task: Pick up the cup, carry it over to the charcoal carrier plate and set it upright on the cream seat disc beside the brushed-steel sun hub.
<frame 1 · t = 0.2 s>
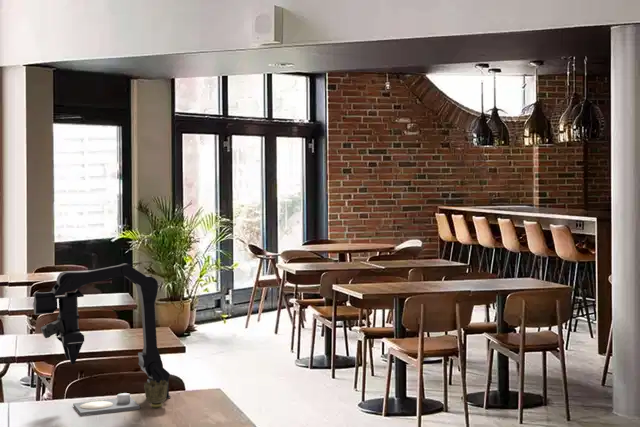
hand: (70, 361, 301), 14 cm above the table, fingers open, 9 cm apart
carrier plate: (106, 407, 300), on the table
cup: (156, 408, 298), on the table
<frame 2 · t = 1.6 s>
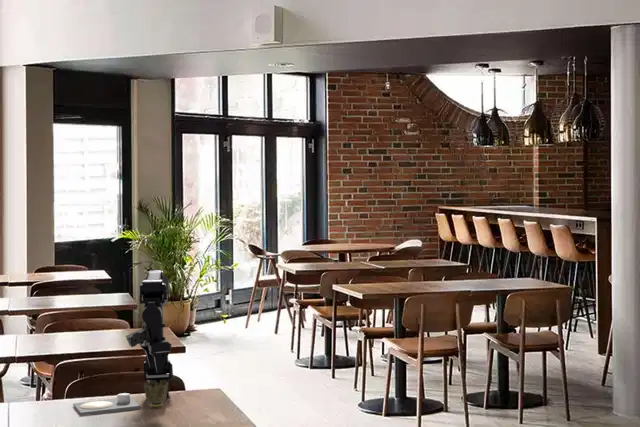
hand: (155, 370, 298), 12 cm above the table, fingers open, 9 cm apart
nothing on the table moved.
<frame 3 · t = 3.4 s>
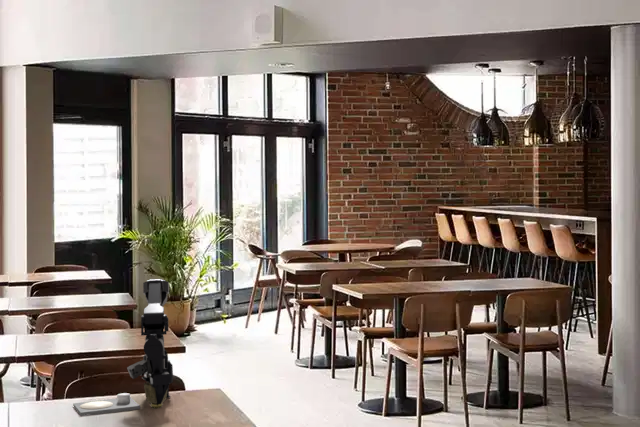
hand: (156, 401, 298), 2 cm above the table, fingers closed on cup, 6 cm apart
cup: (156, 408, 298), on the table, touching gripper
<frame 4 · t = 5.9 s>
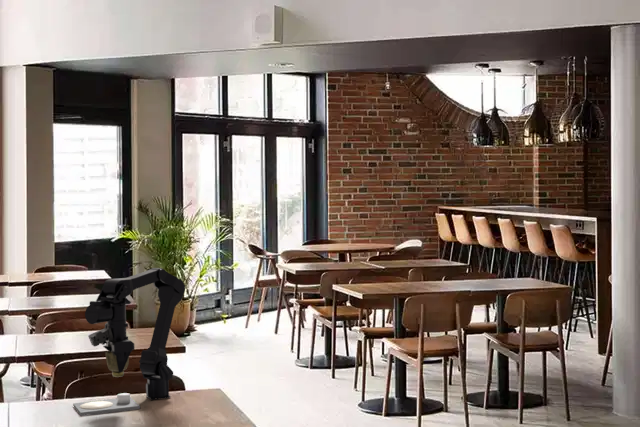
hand: (117, 370, 298), 12 cm above the table, fingers closed on cup, 6 cm apart
cup: (118, 376, 298), point 10 cm above the table, touching gripper
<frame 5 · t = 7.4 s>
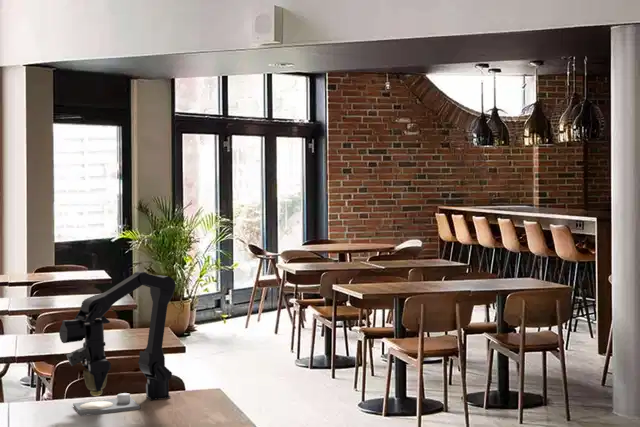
hand: (96, 389, 298), 6 cm above the table, fingers closed on cup, 6 cm apart
cup: (96, 395, 298), point 4 cm above the table, touching gripper
when the fingers open (4 cm above the table, at t = 8.7 s): cup drops 1 cm, resting on carrier plate.
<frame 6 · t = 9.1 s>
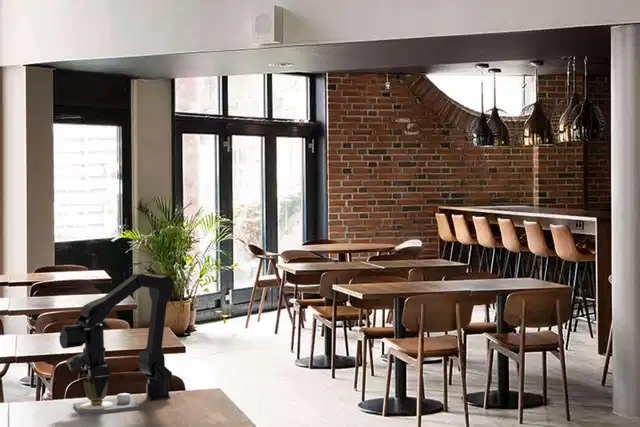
hand: (96, 394, 298), 4 cm above the table, fingers open, 9 cm apart
cup: (96, 405, 299), point 1 cm above the table, touching carrier plate
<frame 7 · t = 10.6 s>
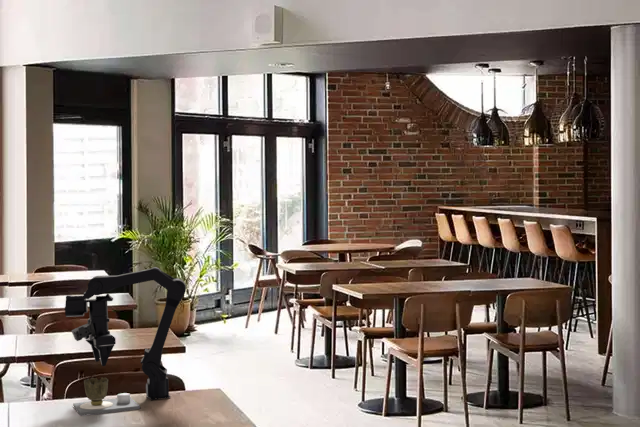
hand: (100, 363, 310), 12 cm above the table, fingers open, 9 cm apart
nothing on the table moved.
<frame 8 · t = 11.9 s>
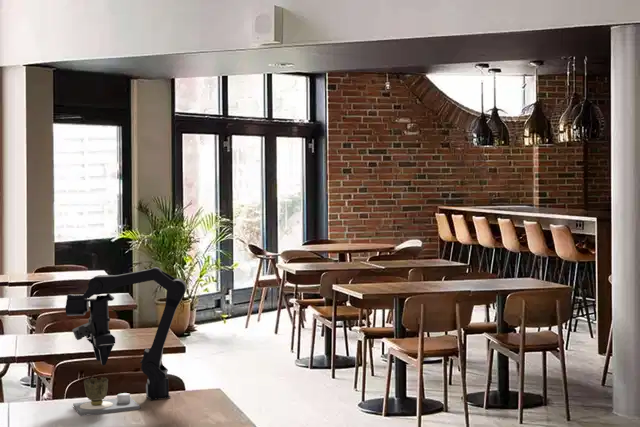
hand: (100, 362, 311), 12 cm above the table, fingers open, 9 cm apart
nothing on the table moved.
at the end: cup 0.1 cm from the target spot on the carrier plate, point 1.0 cm above the carrier plate's base; cup tilted 0°; the gripper is holding nothing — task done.
